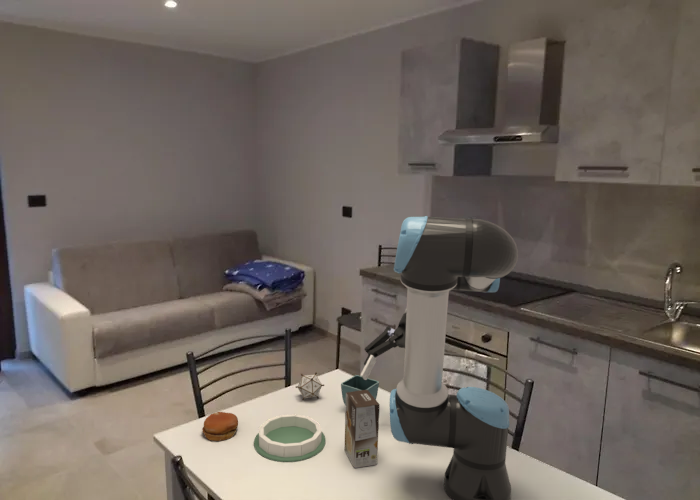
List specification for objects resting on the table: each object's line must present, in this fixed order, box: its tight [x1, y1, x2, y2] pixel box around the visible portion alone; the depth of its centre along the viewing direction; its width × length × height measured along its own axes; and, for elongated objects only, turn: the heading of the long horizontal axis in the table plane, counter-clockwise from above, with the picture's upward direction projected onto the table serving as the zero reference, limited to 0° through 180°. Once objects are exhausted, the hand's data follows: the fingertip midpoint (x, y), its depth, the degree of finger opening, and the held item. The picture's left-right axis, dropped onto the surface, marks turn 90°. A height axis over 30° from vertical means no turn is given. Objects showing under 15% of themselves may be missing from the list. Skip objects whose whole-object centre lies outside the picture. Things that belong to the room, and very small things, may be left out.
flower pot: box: [340, 374, 380, 407], centre depth 153 cm, size 9×9×9 cm
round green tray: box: [253, 413, 326, 463], centre depth 134 cm, size 19×19×4 cm
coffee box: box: [344, 390, 380, 469], centre depth 127 cm, size 9×6×16 cm
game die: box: [295, 371, 325, 401], centre depth 160 cm, size 9×8×10 cm
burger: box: [201, 411, 239, 442], centre depth 138 cm, size 10×9×5 cm
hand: (383, 384), depth 134 cm, fingers open, 13 cm apart
